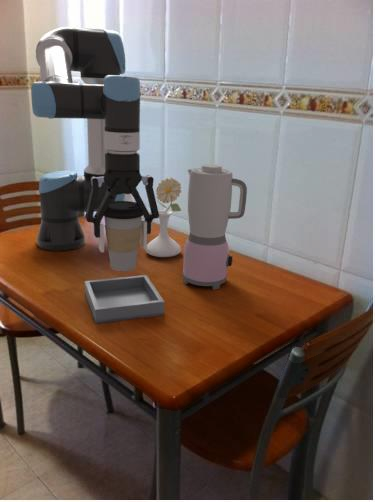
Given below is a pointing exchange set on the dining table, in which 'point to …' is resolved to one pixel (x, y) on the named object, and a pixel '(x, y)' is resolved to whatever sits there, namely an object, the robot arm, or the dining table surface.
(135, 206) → the coffee cup
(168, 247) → the flower in vase
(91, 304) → the tray
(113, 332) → the dining table surface
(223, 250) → the blender
